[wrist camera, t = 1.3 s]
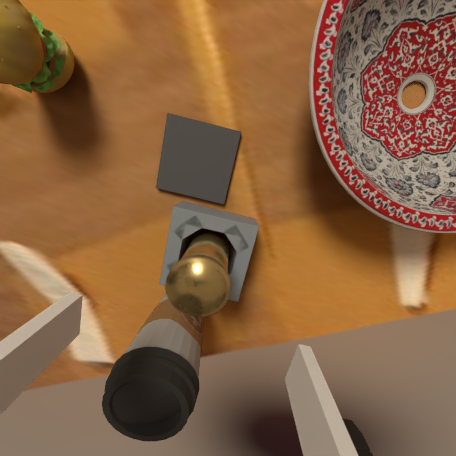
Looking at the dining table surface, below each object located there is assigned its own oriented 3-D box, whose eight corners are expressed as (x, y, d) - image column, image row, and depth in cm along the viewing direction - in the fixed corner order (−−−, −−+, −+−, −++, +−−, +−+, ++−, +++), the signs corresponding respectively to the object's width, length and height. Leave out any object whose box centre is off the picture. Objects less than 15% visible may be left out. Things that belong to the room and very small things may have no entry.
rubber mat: (157, 187, 29) (155, 187, 28) (169, 114, 26) (167, 113, 26) (224, 203, 29) (224, 204, 28) (241, 132, 27) (241, 131, 26)
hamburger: (73, 25, 24) (-71, -110, 13) (101, 93, 26) (-5, 29, 14) (13, 49, 25) (-175, -59, 13) (44, 114, 27) (-101, 69, 15)
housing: (169, 268, 31) (159, 284, 27) (182, 201, 29) (173, 206, 25) (237, 284, 32) (237, 301, 27) (255, 218, 29) (259, 226, 25)
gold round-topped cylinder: (187, 258, 31) (160, 309, 19) (195, 220, 30) (171, 251, 18) (225, 267, 31) (222, 322, 19) (235, 230, 30) (237, 266, 18)
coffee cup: (223, 309, 33) (215, 417, 18) (181, 337, 34) (143, 459, 20) (187, 268, 31) (148, 350, 17) (144, 299, 33) (74, 401, 18)
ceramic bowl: (529, -131, 21) (706, -312, 13) (558, 159, 27) (690, 154, 19) (248, 24, 24) (256, -46, 16) (331, 251, 30) (365, 277, 23)
